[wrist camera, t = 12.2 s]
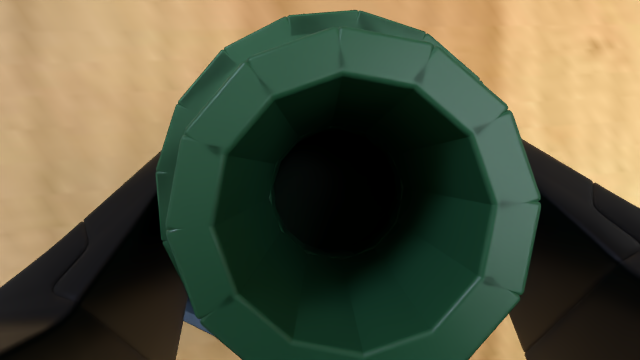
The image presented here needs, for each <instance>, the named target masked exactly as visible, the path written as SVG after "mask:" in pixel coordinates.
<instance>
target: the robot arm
mask: <svg viewBox="0 0 640 360" xmlns="http://www.w3.org/2000/svg"><path fill="white" fill-rule="evenodd" d="M521 140H522V142H523V145H524V148H525V151H526V154H527V157H528V160H529V163H530V166H531V169H532V172H533V175H534V178H535V181H536V184H537V187H538V190H539V193H540V196H541V200H539V201H538V202H540V203H541V211H540V216H539V221H538V226H537V231H536V236H535V241H534V245H533V250H532V255H531V260H530V265H529V270H528V275H527V280H526V285H525V290H524V293H523V294H522V295H519V296H520V301H519V302H518V304H517V305H516V306H515V307H514V308H513V309H512V310H511V312H510V313H509V315H510V317H511V320H512V323H513V325H514V328H515V330H516V333H517V335H518V338H519V341H520V343H521V346H522V348H523V351H524V352H525V357H526V359H527V360H640V208H638V207H636V206H635V205H633V204H631V203H629V202H627V201H626V200H624V199H622V198H621V197H619V196H617V195H615V194H614V193H612V192H610V191H608V190H607V189H605V188H603V187H602V186H600V185H598V184H597V183H593V182H592V181H591V180H590V179H588V178H586V177H585V176H583V175H581V174H580V173H578V172H576V171H575V170H573V169H571V168H570V167H568V166H566V165H565V164H563V163H561V162H560V161H558V160H556V159H555V158H553V157H551V156H550V155H548V154H546V153H545V152H543V151H541V150H539V149H538V148H536V147H534V146H533V145H531V144H529V143H528V142H526V141H524V140H523V139H521ZM161 151H162V150H161ZM161 151H160V152H159V153H158V154H157V155H156V156H155V157H154V158H152V159H151V160H150V161H149V162H148V163H147V164H146V165H145V166H143V167H142V168H141V169H140V170H139V171H138V172H137V173H136V174H134V175H133V176H132V177H131V178H130V179H129V180H128V181H127V182H125V183H124V184H123V185H122V186H121V187H120V188H119V189H118V190H116V191H115V192H114V193H113V194H112V195H111V196H110V197H109V198H107V199H106V200H105V201H104V202H103V203H102V204H101V205H100V206H98V207H97V208H96V209H95V210H94V211H93V212H92V213H91V214H89V215H88V216H87V217H86V218H85V219H84V222H80V223H79V224H78V225H77V226H76V227H75V228H74V229H72V230H71V231H70V232H69V233H68V234H67V235H66V236H64V237H63V238H62V239H61V240H60V241H59V242H57V243H56V244H55V245H54V246H53V247H52V248H50V249H49V250H48V251H47V252H45V253H44V254H43V255H42V256H40V257H39V258H38V259H37V260H35V261H34V262H33V263H32V264H30V265H29V266H28V267H27V268H25V269H24V270H23V271H21V272H20V273H19V274H17V275H16V276H15V277H14V278H12V279H11V280H10V281H8V282H7V283H6V284H4V285H3V286H2V287H1V288H0V360H176V355H177V350H178V345H179V340H180V335H181V329H182V324H183V319H184V314H185V309H186V304H187V299H188V294H187V291H186V289H185V286H184V284H183V282H182V280H181V279H180V277H179V275H178V273H177V271H176V269H175V267H174V265H173V263H172V261H171V259H170V257H169V255H168V253H167V252H166V250H165V248H164V246H163V243H162V242H163V241H162V240H161V232H160V220H159V209H158V197H157V186H156V172H157V170H156V167H157V164H158V161H159V158H160V154H161Z"/></svg>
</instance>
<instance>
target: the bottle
mask: <svg viewBox="0 0 640 360" xmlns="http://www.w3.org/2000/svg"><path fill="white" fill-rule="evenodd" d="M479 80H480V79H479V77H478V76H477V75H475V74H474V73H473V72H472V71H471V70H470V69H469V68H467V67H466V66H465V65H464V64H463V63H462V62H460V61H459V60H458V59H457V58H456V57H455V56H454V55H452V54H451V53H450V52H449V51H448V50H447V49H445V48H444V47H443V46H442V45H441V44H440V43H439V42H437V41H436V40H435V39H434V38H433V37H432V36H430V35H429V34H426V32H424V31H421V30H418V29H415V28H412V27H409V26H406V25H403V24H400V23H397V22H394V21H391V20H388V19H385V18H382V17H379V16H376V15H373V14H370V13H367V12H364V11H359V12H358V11H357V10H350V11H337V12H324V13H312V14H299V15H289V16H288V17H283V18H281V19H279V20H277V21H275V22H273V23H271V24H269V25H267V26H265V27H263V28H261V29H260V30H258V31H256V32H254V33H252V34H250V35H248V36H246V37H244V38H242V39H240V40H238V41H236V42H234V43H232V44H230V45H228V46H226V47H225V48H224V50H221V51H220V52H219V54H218V55H217V56H216V57H215V58H214V59H213V61H212V62H211V63H210V64H209V65H208V67H207V68H206V69H205V70H204V71H203V73H202V74H201V75H200V76H199V77H198V78H197V80H196V81H195V82H194V83H193V84H192V86H191V87H190V88H189V89H188V90H187V92H186V93H185V94H184V95H183V96H182V97H181V99H180V100H179V101H178V104H177V105H176V107H175V110H174V113H173V116H172V120H171V123H170V126H169V129H168V132H167V135H166V139H165V142H164V145H163V148H162V151H161V154H160V158H159V161H158V164H157V167H156V170H157V172H156V186H157V197H158V209H159V220H160V232H161V240H162V241H163V242H162V243H163V246H164V248H165V250H166V252H167V253H168V255H169V257H170V259H171V261H172V263H173V265H174V267H175V269H176V271H177V273H178V275H179V277H180V279H181V280H182V282H183V284H184V286H185V289H186V291H187V294H188V297H189V300H190V302H191V305H192V308H193V311H194V313H195V316H196V317H197V319H200V323H201V325H202V326H203V327H204V328H206V329H207V330H208V331H209V332H210V333H211V334H213V335H214V336H215V337H216V338H217V339H219V340H220V341H221V342H222V343H223V344H224V345H226V346H227V347H228V348H229V349H230V350H232V351H233V352H234V353H235V354H236V355H237V356H239V357H240V358H241V359H242V360H468V359H469V358H470V357H471V356H472V355H473V354H474V353H475V351H476V350H477V349H478V348H479V347H480V346H481V345H482V343H483V342H484V341H485V340H486V339H487V338H488V337H489V335H490V334H491V333H492V332H493V331H494V330H495V329H496V327H497V326H498V325H499V324H500V323H501V322H502V321H503V320H504V318H505V317H506V316H507V315H508V314H509V313H510V312H511V310H512V309H513V308H514V307H515V306H516V305H517V304H518V302H519V301H520V296H519V295H522V294H523V293H524V290H525V285H526V280H527V275H528V270H529V265H530V260H531V255H532V250H533V245H534V241H535V236H536V231H537V226H538V221H539V216H540V211H541V203H540V202H538V201H539V200H541V196H540V193H539V190H538V187H537V184H536V181H535V178H534V175H533V172H532V169H531V166H530V163H529V160H528V157H527V154H526V151H525V148H524V145H523V142H522V140H521V137H520V134H519V131H518V128H517V125H516V122H515V119H514V116H513V113H512V112H511V111H510V110H507V109H508V106H507V104H505V103H504V102H503V101H502V100H501V99H500V98H499V97H497V96H496V95H495V94H494V93H493V92H492V91H490V90H489V89H488V88H487V87H486V86H485V85H484V84H483V82H482V81H479Z"/></svg>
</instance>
